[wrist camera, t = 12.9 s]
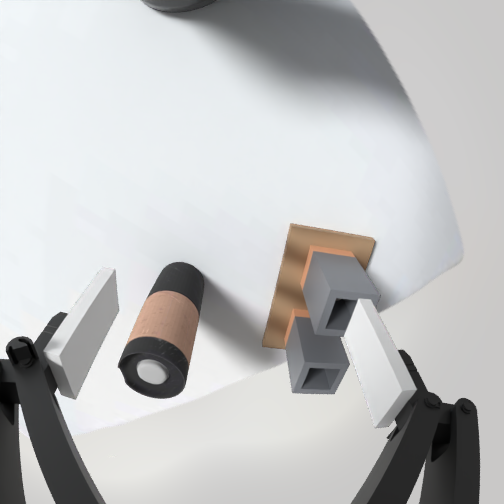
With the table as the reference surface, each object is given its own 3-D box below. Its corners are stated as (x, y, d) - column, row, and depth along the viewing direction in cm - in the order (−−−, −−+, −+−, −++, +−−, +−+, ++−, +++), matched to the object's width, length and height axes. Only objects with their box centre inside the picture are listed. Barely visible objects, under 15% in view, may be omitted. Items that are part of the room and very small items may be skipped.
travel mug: (215, 279, 48) (200, 377, 29) (188, 310, 50) (164, 407, 32) (174, 250, 45) (135, 338, 27) (149, 284, 48) (106, 375, 30)
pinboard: (290, 223, 44) (299, 247, 36) (372, 237, 45) (394, 261, 38) (262, 342, 53) (264, 376, 46) (331, 348, 54) (342, 380, 47)
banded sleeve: (293, 308, 49) (304, 361, 38) (330, 312, 49) (349, 364, 38) (284, 339, 51) (292, 393, 40) (319, 342, 52) (334, 394, 41)
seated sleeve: (310, 245, 44) (330, 289, 33) (351, 251, 45) (380, 295, 34) (300, 283, 47) (314, 334, 36) (339, 288, 47) (362, 337, 36)
